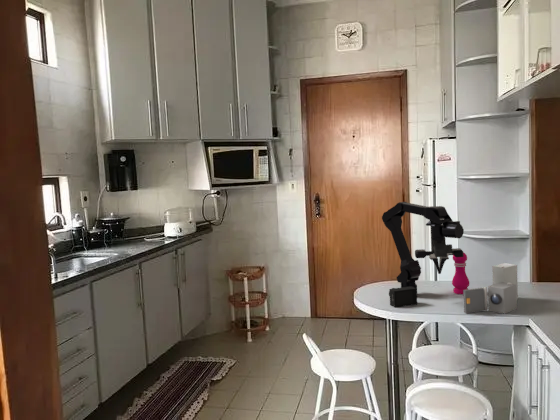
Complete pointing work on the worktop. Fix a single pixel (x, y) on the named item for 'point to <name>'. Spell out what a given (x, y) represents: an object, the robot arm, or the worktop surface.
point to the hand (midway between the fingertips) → (439, 273)
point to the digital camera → (403, 296)
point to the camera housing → (502, 297)
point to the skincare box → (505, 274)
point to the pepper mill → (460, 275)
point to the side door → (475, 300)
